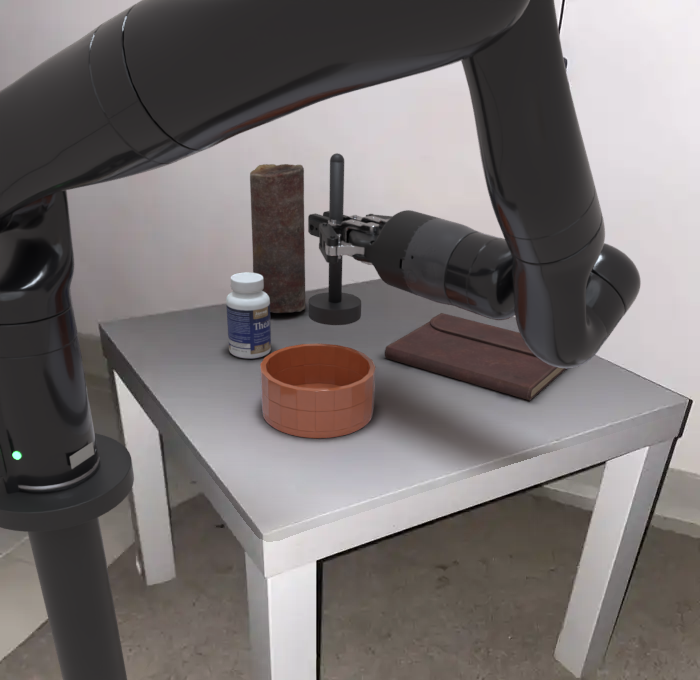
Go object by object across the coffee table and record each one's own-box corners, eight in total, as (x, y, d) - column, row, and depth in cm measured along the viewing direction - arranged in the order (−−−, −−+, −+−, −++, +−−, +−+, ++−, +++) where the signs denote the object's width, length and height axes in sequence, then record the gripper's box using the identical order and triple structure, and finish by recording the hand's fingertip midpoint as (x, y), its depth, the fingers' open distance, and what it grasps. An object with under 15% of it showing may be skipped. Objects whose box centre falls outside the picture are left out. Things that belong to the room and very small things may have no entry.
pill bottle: (260, 362, 96) (258, 286, 91) (221, 356, 97) (216, 280, 92) (278, 346, 100) (276, 273, 95) (240, 340, 102) (236, 268, 97)
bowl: (288, 448, 78) (287, 399, 76) (246, 398, 88) (244, 353, 85) (392, 424, 83) (395, 378, 80) (342, 380, 92) (343, 337, 90)
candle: (292, 324, 107) (290, 173, 97) (245, 316, 110) (238, 167, 99) (313, 306, 114) (313, 162, 103) (268, 299, 116) (264, 157, 105)
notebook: (528, 401, 89) (531, 386, 88) (384, 359, 98) (384, 344, 97) (576, 360, 99) (578, 345, 98) (441, 324, 109) (442, 311, 108)
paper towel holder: (322, 328, 85) (323, 160, 76) (300, 311, 90) (298, 150, 81) (370, 320, 88) (376, 156, 79) (346, 304, 92) (349, 147, 83)
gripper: (483, 209, 77) (364, 179, 87) (384, 230, 69) (267, 194, 79) (474, 282, 81) (361, 245, 91) (380, 311, 73) (269, 266, 83)
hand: (318, 222), depth 85 cm, fingers closed on paper towel holder, 1 cm apart
